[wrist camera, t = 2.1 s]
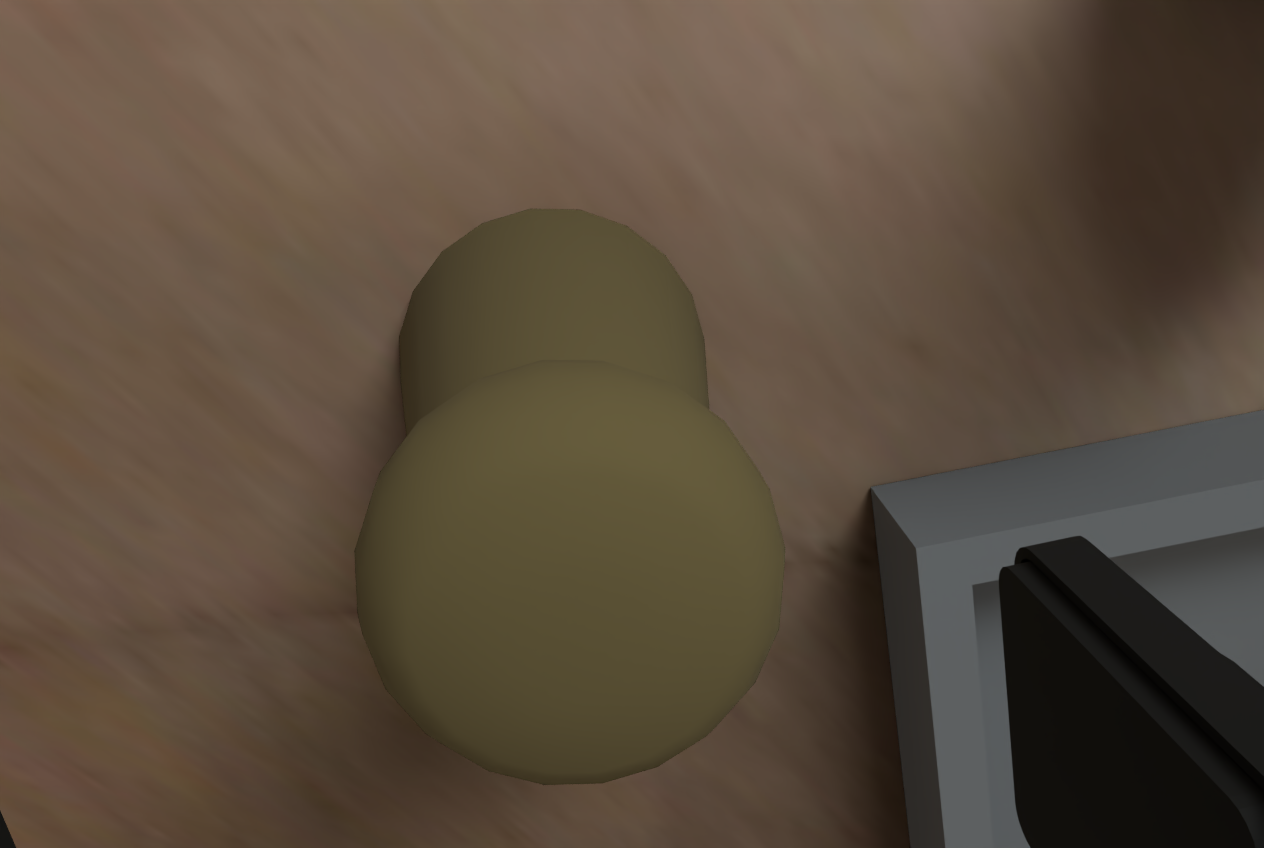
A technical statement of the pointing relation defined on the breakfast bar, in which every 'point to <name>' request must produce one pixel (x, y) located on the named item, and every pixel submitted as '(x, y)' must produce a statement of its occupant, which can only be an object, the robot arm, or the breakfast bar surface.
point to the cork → (564, 511)
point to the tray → (988, 540)
